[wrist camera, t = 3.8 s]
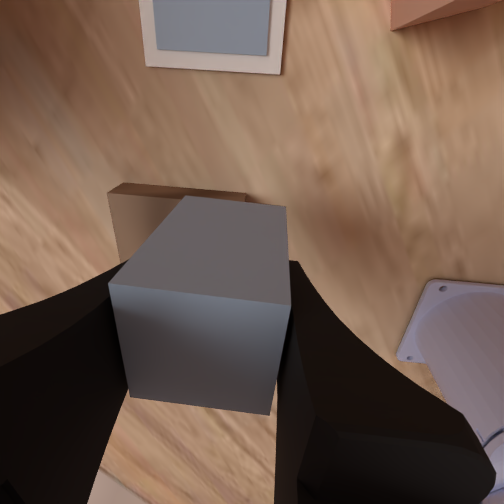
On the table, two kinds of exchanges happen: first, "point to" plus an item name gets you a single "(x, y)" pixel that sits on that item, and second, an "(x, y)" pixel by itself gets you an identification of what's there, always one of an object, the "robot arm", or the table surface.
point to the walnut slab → (149, 210)
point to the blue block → (206, 306)
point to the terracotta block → (430, 10)
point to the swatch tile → (214, 34)
